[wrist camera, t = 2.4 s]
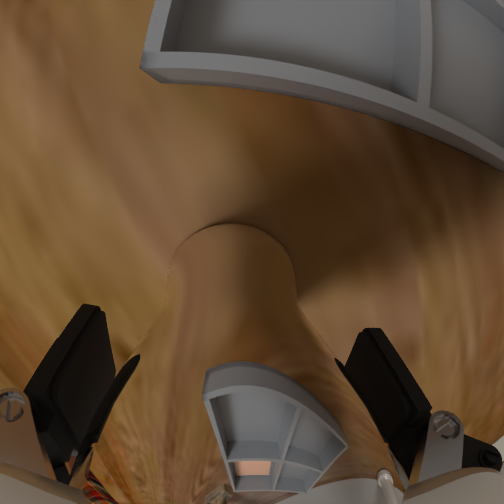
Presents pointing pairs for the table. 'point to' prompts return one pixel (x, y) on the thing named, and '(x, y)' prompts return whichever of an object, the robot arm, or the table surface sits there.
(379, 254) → the table surface
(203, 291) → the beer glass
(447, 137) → the gray compartment tray
